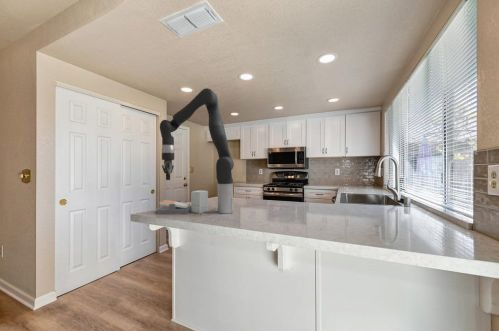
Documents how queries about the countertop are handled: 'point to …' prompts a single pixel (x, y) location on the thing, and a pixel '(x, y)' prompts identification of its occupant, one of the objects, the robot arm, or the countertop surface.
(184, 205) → the breaker rocker
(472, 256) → the countertop surface
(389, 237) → the countertop surface
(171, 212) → the breaker panel
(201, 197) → the supplement box
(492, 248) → the countertop surface
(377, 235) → the countertop surface
